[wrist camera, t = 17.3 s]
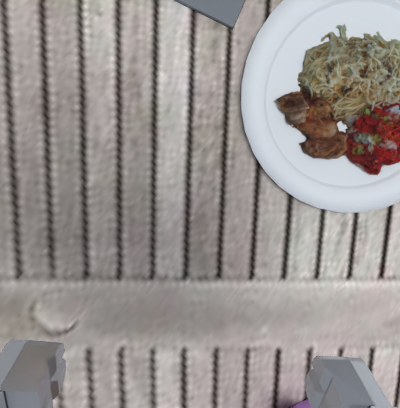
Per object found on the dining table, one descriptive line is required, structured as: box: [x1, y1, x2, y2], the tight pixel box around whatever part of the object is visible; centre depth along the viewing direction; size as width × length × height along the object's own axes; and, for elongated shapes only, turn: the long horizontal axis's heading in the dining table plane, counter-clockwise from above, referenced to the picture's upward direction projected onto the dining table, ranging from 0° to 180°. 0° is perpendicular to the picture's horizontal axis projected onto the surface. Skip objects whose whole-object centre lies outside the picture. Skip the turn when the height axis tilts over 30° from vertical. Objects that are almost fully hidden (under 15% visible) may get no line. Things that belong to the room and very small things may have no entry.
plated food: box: [241, 0, 400, 212], centre depth 39 cm, size 30×30×3 cm
